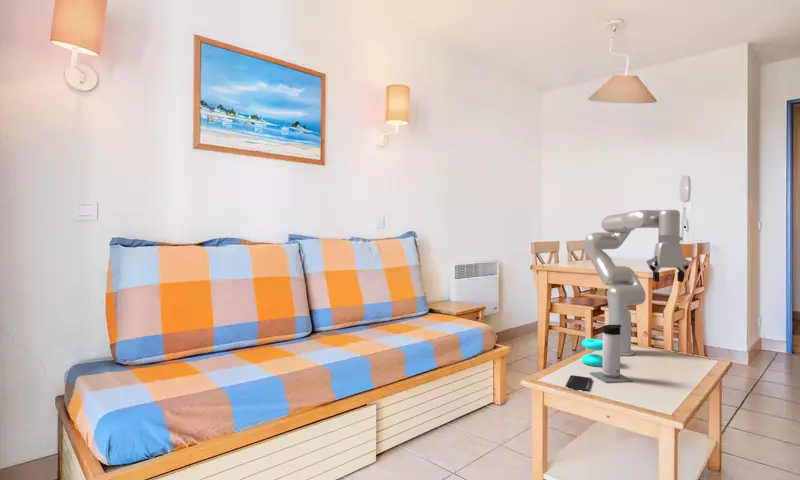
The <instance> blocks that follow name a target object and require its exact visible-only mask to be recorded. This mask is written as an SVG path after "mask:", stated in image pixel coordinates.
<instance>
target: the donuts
mask: <svg viewBox="0 0 800 480" xmlns="http://www.w3.org/2000/svg"><path fill="white" fill-rule="evenodd" d="M581 345H582V347H583V348H584V349H587V350H590V351H598V352H599V351H603V339H598V338H585V339H583V340H582V341H581ZM581 361H582V363H583V364H585V365H586V366H591V367H592V366H593V367H603V355H600V354H597V353H587V354H584V355H582V356H581Z"/></svg>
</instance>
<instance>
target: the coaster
mask: <svg viewBox="0 0 800 480" xmlns="http://www.w3.org/2000/svg"><path fill="white" fill-rule="evenodd" d="M589 375H590V376H593V377H595V378H597V379H598V380H599V381H602V382H603V383H606V384H608V383H609V384H610V383H611V384H613V383H615V384H616V383H631V382H632V383H633V382H634V380H633V379H632V378H630V377H627V376H626V375H624V374H621V373H620V377H619V378H608V377H605V376H603V375H602V371H597V372H596V371H595V372H594V371H593V372H592V371H591V372H589Z"/></svg>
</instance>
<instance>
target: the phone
mask: <svg viewBox="0 0 800 480" xmlns="http://www.w3.org/2000/svg"><path fill="white" fill-rule="evenodd" d="M592 382H593V378H592V377H586V376H581V375H570V376H569V378H568V380H567V382H566V384H565V388H566V387H568V388H572V389H575V390H576V391H578V390H582V391H581V392H584V391H588V392H589V391H590V388H591V385H592Z"/></svg>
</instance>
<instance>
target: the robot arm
mask: <svg viewBox="0 0 800 480" xmlns="http://www.w3.org/2000/svg"><path fill="white" fill-rule="evenodd" d="M680 221H681V213H680V210H678V209H662V210H659V209H656V210H655V209H640V210H639V209H638V210H632V211H626V212H623V213H617V214H616V213H615V214H610V215H607V216H605V217H604V218H603V219H602V220H601V223H600V224H601V225H600V226H601V228H602V230H604V231H605V232H602V231H601V232H597V231H596V232H592V233H589V234H587V236H585V238H584V242H583V247H584V251H585V253H586V254H585V255H586V256H587V257H588V259H589V260H590V261H591V263H592V265H593V267H594V268H595V271H596V272H597V274H598V276H599V278H600V280H601V282H602V283H603V284H604V285H605V286H609V288H608V289H607V290H606V301H607V306H608V325H621V326H622V327H620V334H621V335H620V336H621V344H620V357H622V356H624V357H625V356H626V357H627V356H630V357H631V356H634V355H635V350H634V349H632V314H631V311H630V309H629V308H628V306H638V305H642V304H643V303H645V301H646V297H647V296H646V292H645V289H644V287H643V285H642V283H641V282H640V279H639V278H638V276H637V274H636V272H634V270H633V269H632V268H631V267H629V266H626V265H621V266H620V265H616V264H615V263H614V261H613V259H612V258H611V256H609V254H608V253H606V252H605V251H604V250H617V249H619V248H620V247H621V246H622V245H623V244H624V243H625V241H626V239H627V238H628V236H629V235H630V233H631V232H632V231H635V230H636V229H641V228H642V229H643V228H645V229H652V228H653V229H658V237H657V239H658V242H657V243H655V246H654V251H653V257H652V258H649V259H648V260H647V261H646V264H647V266H648V268H649V269H650V270H651V272H652V280H653V281H654V282H655V283H659V282H660V272H659V271H660V269H662V268H666V269H667V268H669V269H670V268H672V269H673V268H676V269H677V276H676V277H677V280H676V281H677V282H680V283H684V280H685V273H686V271H687V270H688V269H689V268H690V265H691V263H692V261H690V260H689V259H687V258H685V257H684V252H683V251H684V250H683V247H682V243H680V242H681V241H683V237H682V236H680V233H681V232H680V231H681V229H680V228H681V226H680V225H681V222H680Z"/></svg>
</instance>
